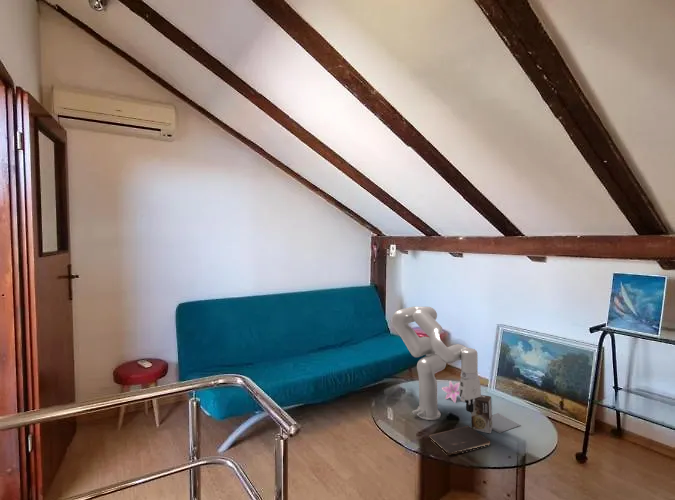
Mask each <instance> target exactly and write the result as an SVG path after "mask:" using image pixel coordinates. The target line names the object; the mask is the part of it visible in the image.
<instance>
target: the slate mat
mask: <svg viewBox="0 0 675 500" xmlns="http://www.w3.org/2000/svg"><path fill="white" fill-rule="evenodd" d="M492 426H493V428H492V430H493V432H496V433H497V434H503V433H505V432H508V431H509V430H510V431H511V430H513V429H515V428H518V427H522V426H521V424H519V423H517V422H516V421H514V420H512V419H510V418H507V417H506V416H504V415H502V414H500V413H499V412H497V413H494V414H492Z"/></svg>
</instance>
